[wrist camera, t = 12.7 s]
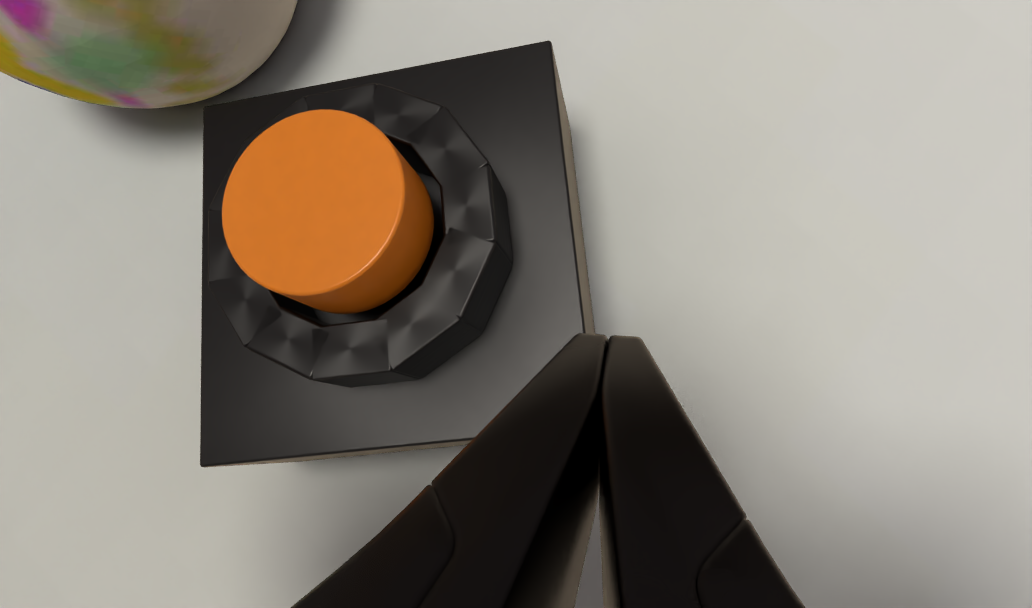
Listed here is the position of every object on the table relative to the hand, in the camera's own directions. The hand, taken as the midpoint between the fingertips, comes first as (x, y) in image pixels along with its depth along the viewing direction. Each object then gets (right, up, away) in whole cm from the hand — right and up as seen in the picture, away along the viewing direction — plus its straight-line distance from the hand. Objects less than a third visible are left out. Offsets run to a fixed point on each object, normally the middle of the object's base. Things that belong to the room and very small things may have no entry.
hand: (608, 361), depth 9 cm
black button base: (-4, +1, +13) cm, 14 cm away
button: (-5, +2, +7) cm, 9 cm away
